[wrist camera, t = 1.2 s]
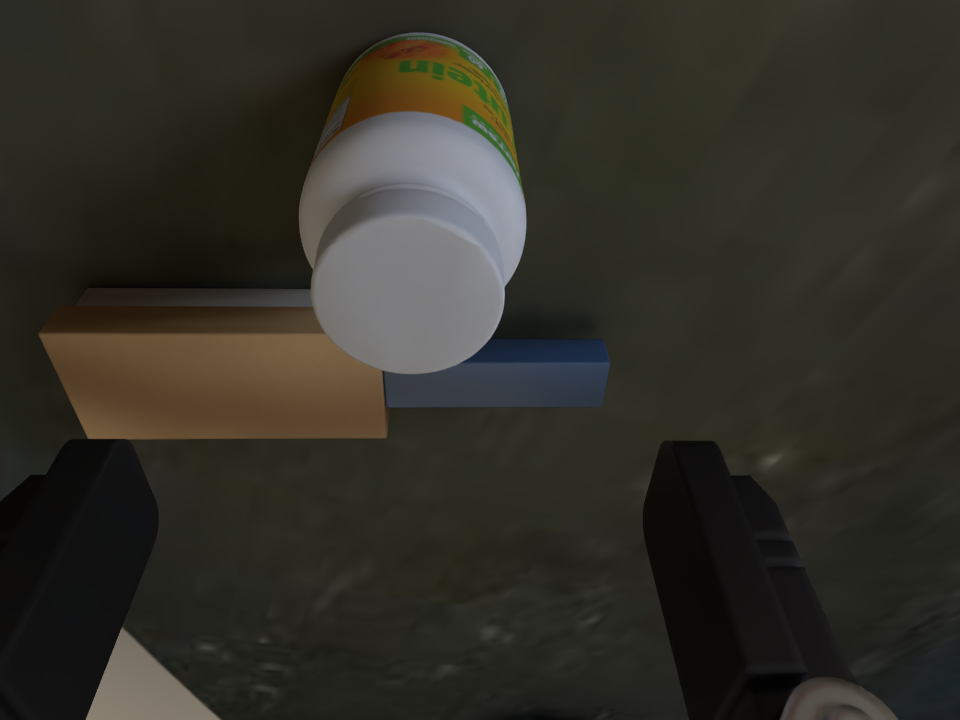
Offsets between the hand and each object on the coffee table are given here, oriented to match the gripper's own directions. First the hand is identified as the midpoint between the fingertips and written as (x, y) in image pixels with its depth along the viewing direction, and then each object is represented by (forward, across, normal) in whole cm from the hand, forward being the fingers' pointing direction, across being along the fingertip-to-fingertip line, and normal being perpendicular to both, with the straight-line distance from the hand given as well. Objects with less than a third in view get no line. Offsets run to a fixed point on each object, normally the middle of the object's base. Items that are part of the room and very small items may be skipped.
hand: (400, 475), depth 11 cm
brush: (+14, +3, +8) cm, 17 cm away
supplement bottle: (+14, 0, 0) cm, 14 cm away
